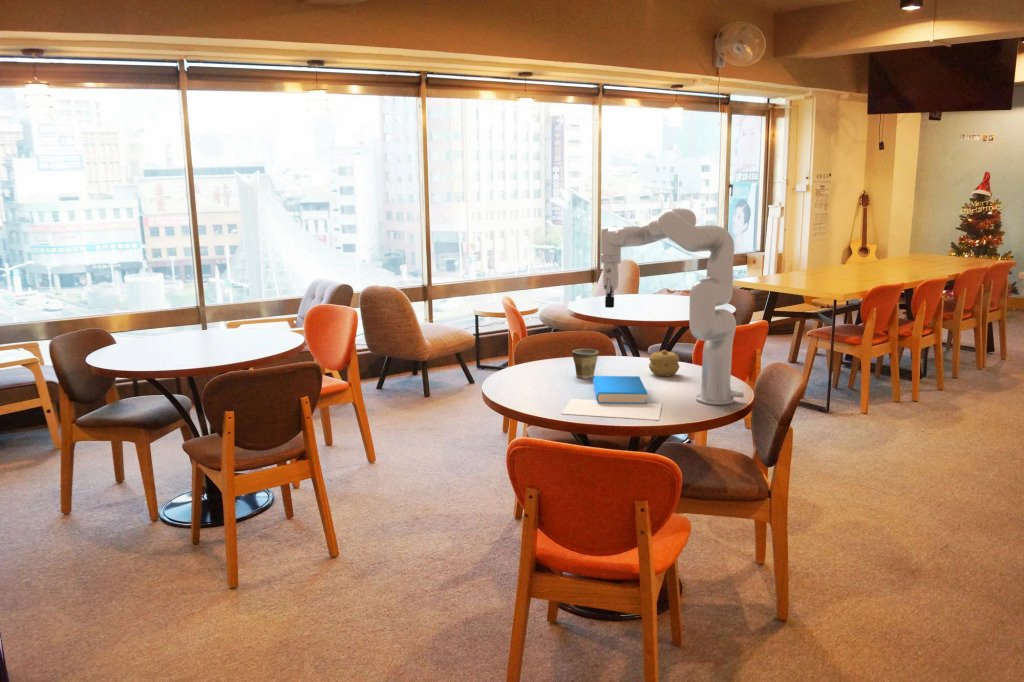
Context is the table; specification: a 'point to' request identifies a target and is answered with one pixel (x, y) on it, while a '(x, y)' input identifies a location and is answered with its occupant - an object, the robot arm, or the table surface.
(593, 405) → the mat
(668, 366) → the pot
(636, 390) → the book
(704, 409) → the table surface
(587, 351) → the ceramic cup
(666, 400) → the table surface
